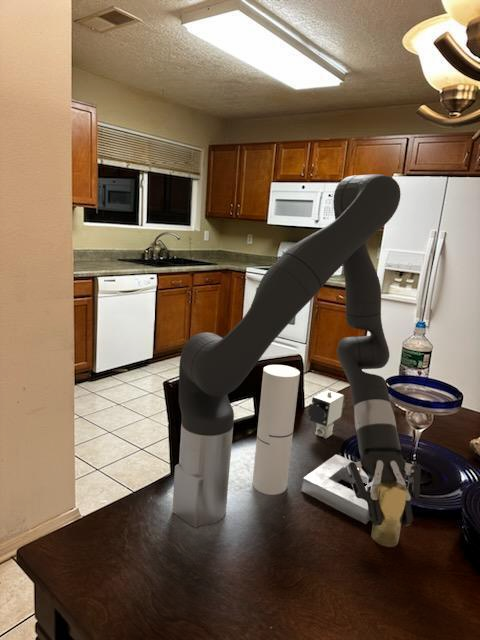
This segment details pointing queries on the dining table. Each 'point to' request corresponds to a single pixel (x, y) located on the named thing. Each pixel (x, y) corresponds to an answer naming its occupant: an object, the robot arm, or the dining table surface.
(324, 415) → the pneumatic valve
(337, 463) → the frame
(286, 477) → the cylindrical container
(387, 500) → the tan piece
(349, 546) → the dining table surface
